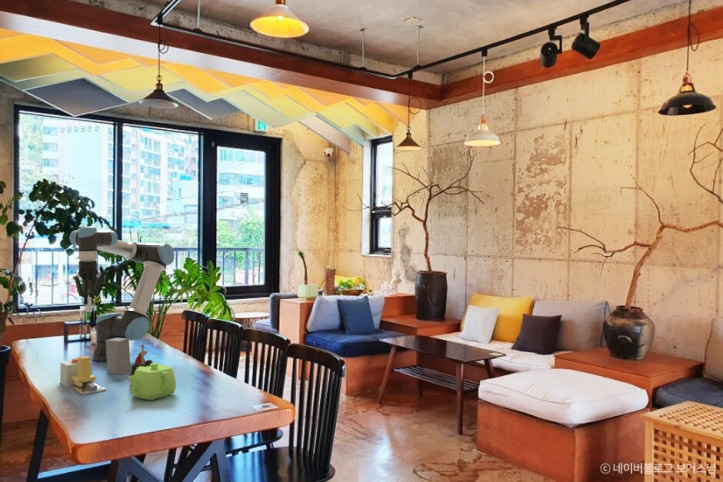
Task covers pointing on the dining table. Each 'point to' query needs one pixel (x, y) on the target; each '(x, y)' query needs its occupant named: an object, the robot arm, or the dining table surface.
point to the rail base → (85, 391)
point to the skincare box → (118, 356)
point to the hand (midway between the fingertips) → (88, 311)
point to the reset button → (74, 360)
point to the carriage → (83, 371)
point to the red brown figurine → (140, 361)
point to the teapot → (153, 381)
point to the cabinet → (69, 372)
